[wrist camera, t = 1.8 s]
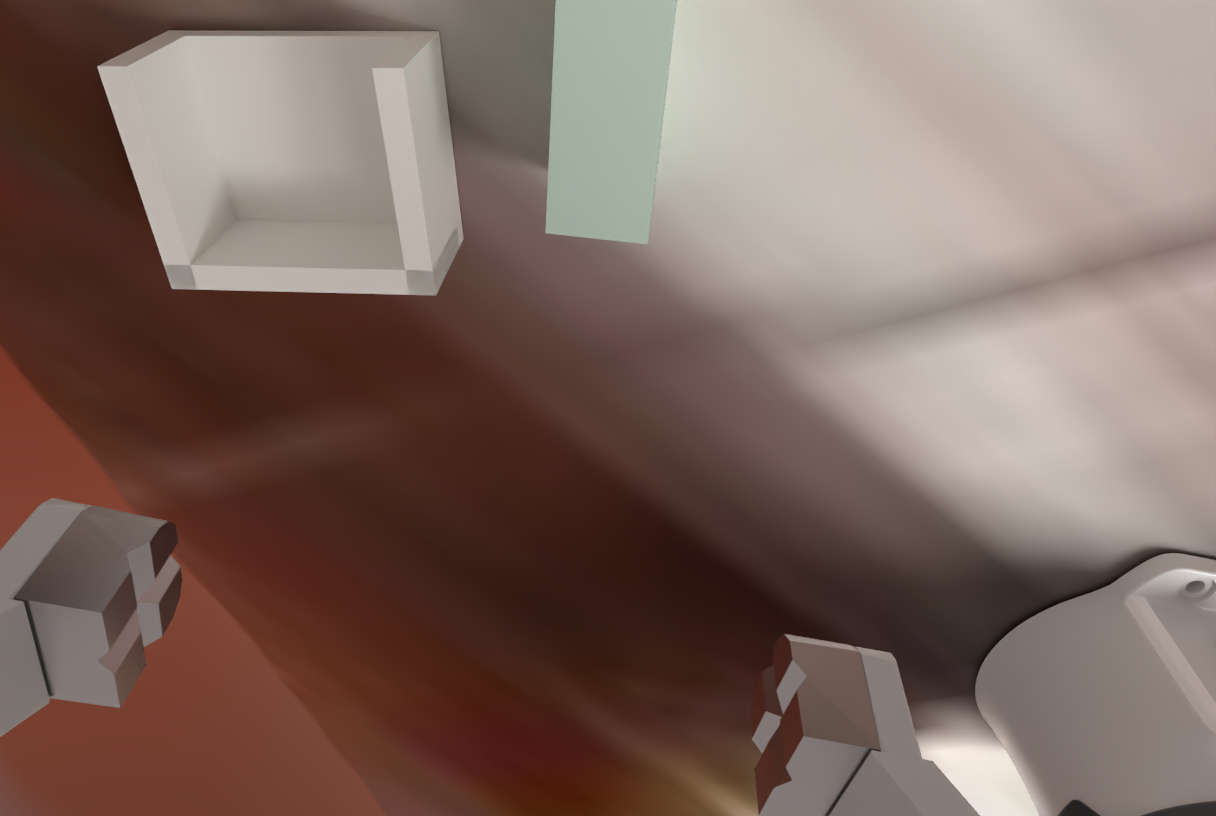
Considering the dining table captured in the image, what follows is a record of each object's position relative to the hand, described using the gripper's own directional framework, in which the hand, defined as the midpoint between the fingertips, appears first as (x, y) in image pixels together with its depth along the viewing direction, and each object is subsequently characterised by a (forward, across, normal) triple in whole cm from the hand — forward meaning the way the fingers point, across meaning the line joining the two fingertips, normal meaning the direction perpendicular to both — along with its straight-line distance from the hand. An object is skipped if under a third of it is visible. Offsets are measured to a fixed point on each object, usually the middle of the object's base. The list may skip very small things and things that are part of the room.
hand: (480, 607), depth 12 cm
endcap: (+25, +10, +5) cm, 27 cm away
